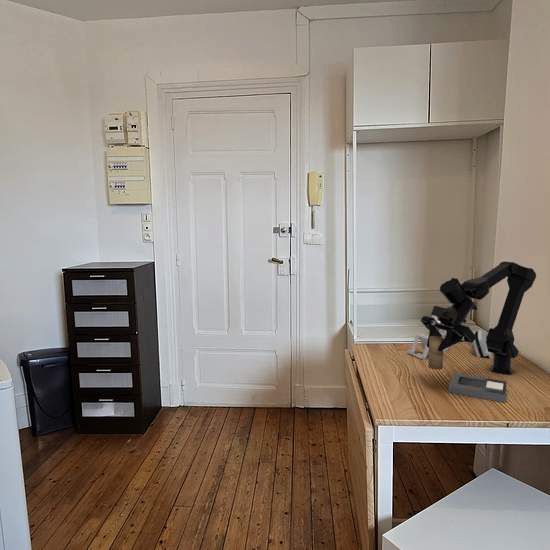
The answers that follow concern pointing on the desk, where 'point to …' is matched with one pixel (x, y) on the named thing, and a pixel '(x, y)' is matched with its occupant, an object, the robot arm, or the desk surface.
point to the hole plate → (490, 389)
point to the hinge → (480, 344)
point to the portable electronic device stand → (424, 344)
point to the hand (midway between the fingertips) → (433, 348)
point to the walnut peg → (435, 353)
